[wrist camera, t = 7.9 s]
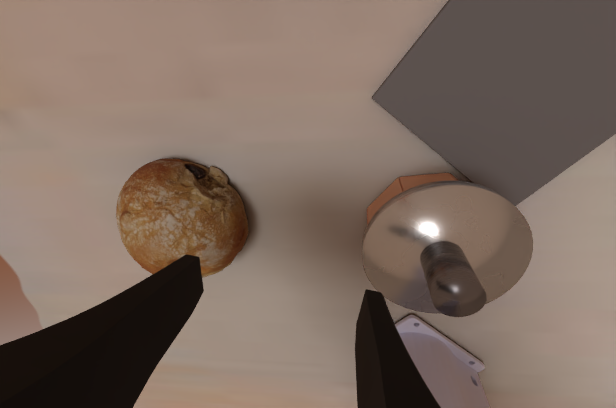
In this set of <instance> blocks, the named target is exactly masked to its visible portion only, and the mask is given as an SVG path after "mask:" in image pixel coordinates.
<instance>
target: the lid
mask: <svg viewBox="0 0 616 408" xmlns="http://www.w3.org/2000/svg"><path fill="white" fill-rule="evenodd" d="M532 251H533V238H532V232H531V230H530V227H529V224H528V222H527V221H526V219H525V218H524V216H523V215H522V213H521V212H520V211H519V210H518V209H517V208H516V207H515V206H514V205H513V204H512V203H511V202H510V201H508V200H507V199H506V198H505V197H503V196H502V195H501V194H499V193H497V192H496V191H494V190H492V189H490V188H487V187H485V186H482V185H479V184H475V183H471V182H465V181H436V182H430V183H426V184H421V185H418V186H415V187H412V188H410V189H408V190H405V191H403V192H401V193H399V194H398V195H396V196H394V197H393V198H391V199H390V200H389V201H387V202H386V203H385V204H384V205H383V206H382V207H381V208H380V209H379V210H378V211H377V212H376V213H375V214H374V216H373V217H372V218H371V220H370V222H369V223H368V225H367V227H366V230H365V233H364V236H363V241H362V260H363V266H364V270H365V273H366V275H367V277H368V279H369V281H370V282H371V283H372V285H373V286H374V287H375V288H376V289H377V291H378V292H381V293H382V294H383V296H384V297H386V298H387V299H389V300H390V301H392V302H394V303H396V304H398V305H400V306H403V307H405V308H408V309H412V310H415V311H420V312H426V313H443V314H445V315H448V316H453V317H463V316H468V315H471V314H474V313H476V312H478V311H479V310H480V309H481V308H482V307H483V306H484V305H485V304H487V303H489V302H491V301H493V300H495V299H497V298H498V297H500V296H502V295H503V294H504V293H506V292H507V291H508V290H510V289H511V288H512V287H513V286H514V285H515V284H516V283H517V282H518V280H519V279H520V278H521V277H522V276H523V274H524V272H525V271H526V269H527V267H528V265H529V262H530V260H531V256H532Z"/></svg>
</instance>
